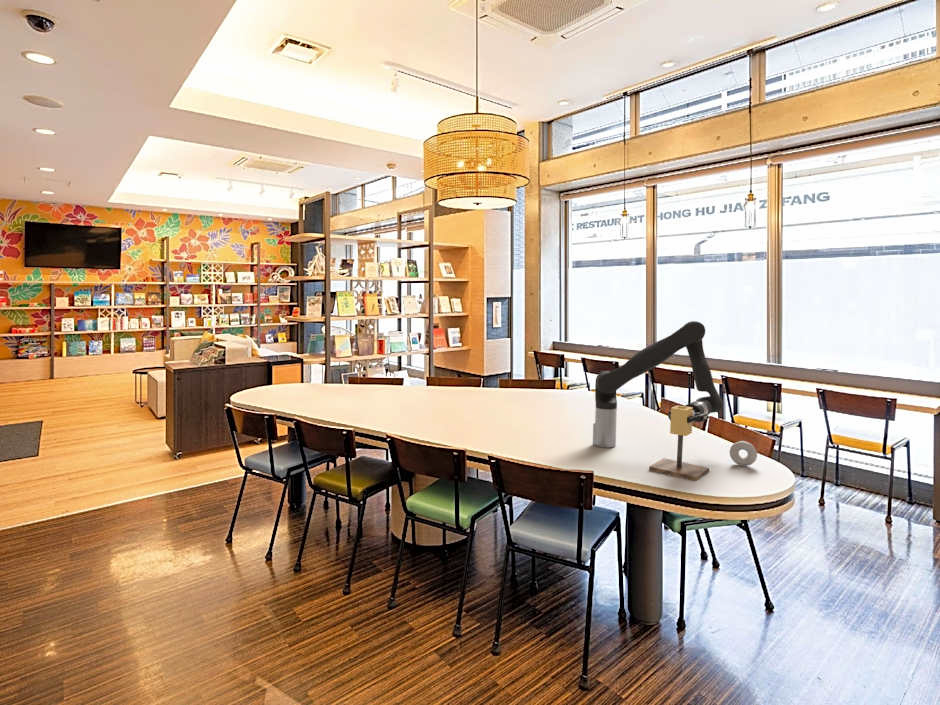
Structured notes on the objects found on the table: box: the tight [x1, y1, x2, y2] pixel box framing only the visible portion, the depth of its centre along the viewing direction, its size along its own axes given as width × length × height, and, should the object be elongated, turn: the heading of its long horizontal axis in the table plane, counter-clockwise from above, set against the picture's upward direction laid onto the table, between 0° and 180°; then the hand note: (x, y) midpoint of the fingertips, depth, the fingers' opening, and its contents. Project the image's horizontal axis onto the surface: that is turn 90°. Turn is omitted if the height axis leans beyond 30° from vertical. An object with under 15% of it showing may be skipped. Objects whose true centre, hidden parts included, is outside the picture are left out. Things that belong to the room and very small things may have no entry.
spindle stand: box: [648, 435, 710, 481], centre depth 215 cm, size 18×14×15 cm
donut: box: [729, 440, 758, 467], centre depth 222 cm, size 10×4×10 cm, turn 53°
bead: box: [669, 405, 693, 437], centre depth 214 cm, size 6×6×10 cm
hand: (679, 419), depth 212 cm, fingers closed on bead, 6 cm apart
